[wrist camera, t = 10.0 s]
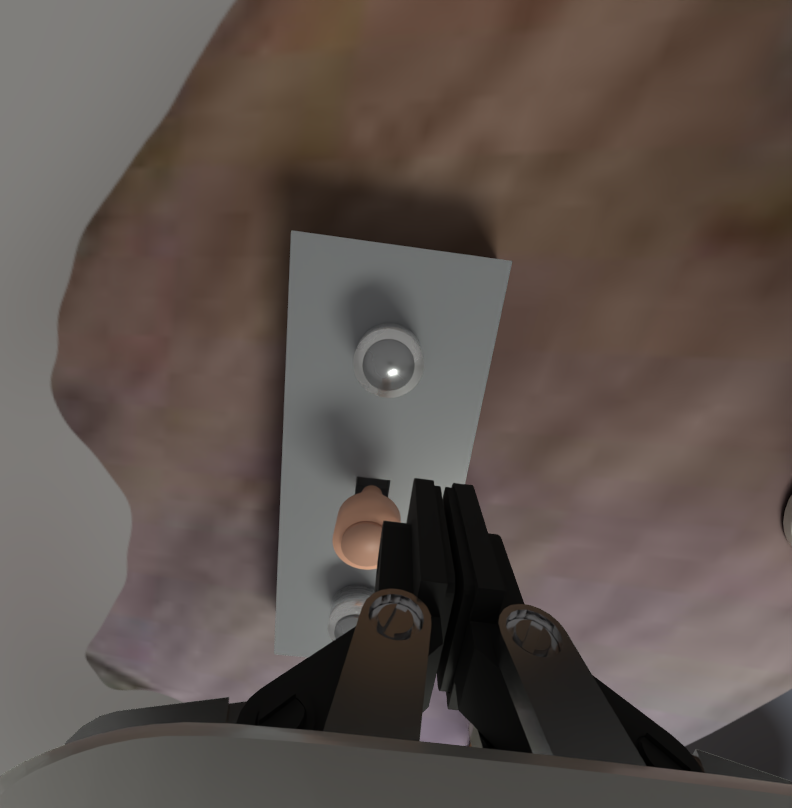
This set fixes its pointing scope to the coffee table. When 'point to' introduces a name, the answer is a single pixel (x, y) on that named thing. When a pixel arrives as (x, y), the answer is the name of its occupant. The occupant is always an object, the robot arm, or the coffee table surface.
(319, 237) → the knob panel
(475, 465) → the coffee table surface
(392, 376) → the knob
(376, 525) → the knob middle
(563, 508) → the coffee table surface
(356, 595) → the knob
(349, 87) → the coffee table surface
